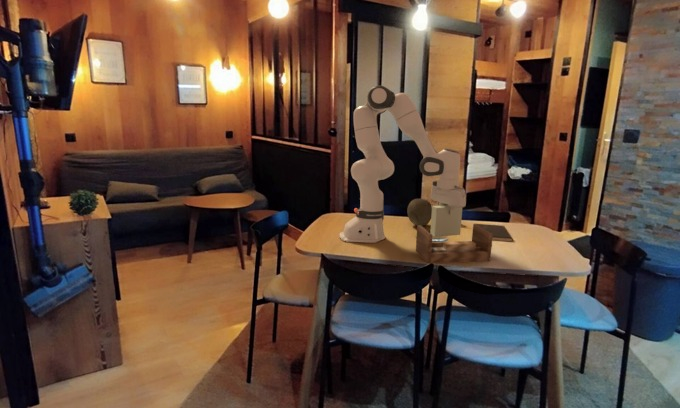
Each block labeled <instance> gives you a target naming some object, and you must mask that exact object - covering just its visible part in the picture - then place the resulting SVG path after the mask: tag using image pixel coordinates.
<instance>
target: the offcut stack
mask: <svg viewBox="0 0 680 408" xmlns="http://www.w3.org/2000/svg"><path fill="white" fill-rule="evenodd" d="M442 242H443V247H437V248H433V249H432V252H473V251H474V249H476V243H474V242H473V241H472V240H469V241H468V240H467V241H466V240H463V241H462V240H461V241H458V240H457V241H456V240H455V241H442Z"/></svg>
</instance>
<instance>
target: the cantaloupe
mask: <svg viewBox="0 0 680 408" xmlns="http://www.w3.org/2000/svg"><path fill="white" fill-rule="evenodd" d="M432 206H433V205H432V204H431V203H430V201H429V200H428V199H424V198H414V199H412V200H411V201H410V202H409V204H408V205H407V216H408V219H409V221H410V223H411V224H412V225H414V226H417V225H421V226H422V227H425V226H427V225H428V224H429V223H431V215H432Z"/></svg>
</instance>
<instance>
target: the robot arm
mask: <svg viewBox="0 0 680 408" xmlns="http://www.w3.org/2000/svg"><path fill="white" fill-rule="evenodd" d="M366 97H367V98H366V102H365V104H364V105H360V106H358V107H356V108H355V109H354V111H353V128H354V129H353V130H354V136H355V141H356V146H357V149H358V150H359V151H361V152H362V153H363V155H364V158H363V159H359V160H357V161H355V162H354V163H352V165H351V168H350V174H351V177H352V179H353V180H354V181H355V182H356V183H357V186H358V189H359V193H360V194H359V195H360V197H359V200H360V202H359V203H360V207H359V208H357V207H355V208H354V209H353V211H354V213H355V216H353V218H351V219H350V220H348V221H347V222H346V223H345V224H344V228H343V231H340V232H339V235H338V236H339V239H340V238H341V239H340V240H341V241H342V242H345V241H346V242H348V243H349V242H351V243H371V244H373V243H374V244H376V243H378V242H379V241H382V240H384V239H386V236H385V232H384V220H385V219H384V217H385V216H384V215H385V210H384V193H383V191H382V190H381V189H380V188H379V181H381V180H385V179H388V178H390V177H391V176H392V175H394V172H395V164H394V162H393V160H391V159H390V158H389V157H388V156H387V153H386V152H385V149H384V148H383V145H382V143H381V136H380V134H379V133H380V132H379V129H378V122H377V116H379V115H382V114H383V113H385V112H386V111H388V112H390V114H392V116H393V118H394V120H395V123H396V124H397V126H398V128H399V129H400V131H401V132H402V134H404V135H405V136H407V137H409V138H411V139H412V140H413V141H414V142H415V144H416V146H417V148H418V149H419V151H420V153H421V155H422V157H423V158H422V159H421V161H420V162H419V171H420V173H422V175H424V176H426V177H434V176H439V179H437V180H433V181H431V188H430V189H431V190H430V199H431V201H435V202H437V203H438V202H439V206H441V205H443V204H448V205H451V210H450V211H449V214H450V215H453V214H454V210H455V209H456V207H458V208H462V209H463V208H465V207H466V206H467V205H466V204H467V196H466V195H467V194H466V190H465V188H464V187H463V186H459V183H460V175H459V174H460V170H461V155H460V153H459V152H458V151H457V150H455V149H451V148H443V149H442V150H441V151H438V152H437V151H436V149H435V148H434V145H433V144H432V142H431V141H430V139H429V136H428V134H427V132H426V130H425V126H424V123H423V120H422V118H421V115H420V112H419V110H418V109H417V107H416V105H415V104H414V102H413V100H412V98H410V96H409V95H408V94H407V93H405V92H399V93H396V94H395V92H393V91H392V90H390V89H389V88H387V87H386V86H384V85H374V86H373V87H371V88H370V89H369V91H368V92H367V96H366Z"/></svg>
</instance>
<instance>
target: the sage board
mask: <svg viewBox="0 0 680 408" xmlns="http://www.w3.org/2000/svg"><path fill="white" fill-rule="evenodd" d="M431 206H432V215H431V220H430V231H429V233H431V234H432V237H434V238H437V237H439V238H440V237H449V236H459V235H460V236H461V230H462V229H461V228H462V219H463V218H462V217H463V207H462V208H458V207H456V209H455V210H454V214H453V215H450V214H449V211H450V210H451V205H441V206H438V205H431Z"/></svg>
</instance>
